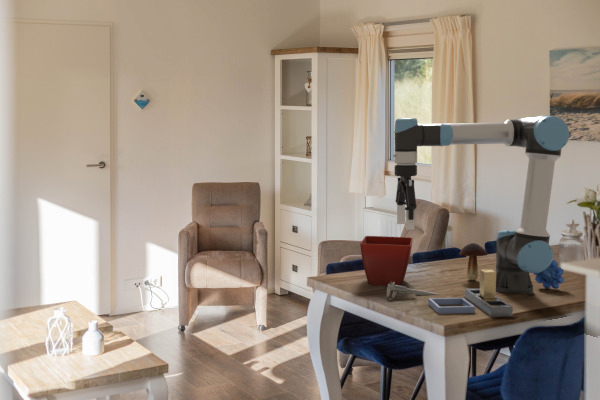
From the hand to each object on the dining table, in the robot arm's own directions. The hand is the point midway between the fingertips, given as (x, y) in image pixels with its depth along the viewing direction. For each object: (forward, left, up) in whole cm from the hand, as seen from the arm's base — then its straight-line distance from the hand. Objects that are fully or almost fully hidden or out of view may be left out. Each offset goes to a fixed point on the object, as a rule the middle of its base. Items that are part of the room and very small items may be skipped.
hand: (405, 226), depth 239 cm
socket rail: (-26, +9, -27) cm, 39 cm away
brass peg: (-26, +9, -26) cm, 38 cm away
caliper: (-6, -9, -27) cm, 29 cm away
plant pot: (-1, -34, -27) cm, 43 cm away
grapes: (-59, -18, -27) cm, 67 cm away
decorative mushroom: (-36, -35, -27) cm, 57 cm away
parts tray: (-13, +11, -27) cm, 32 cm away
